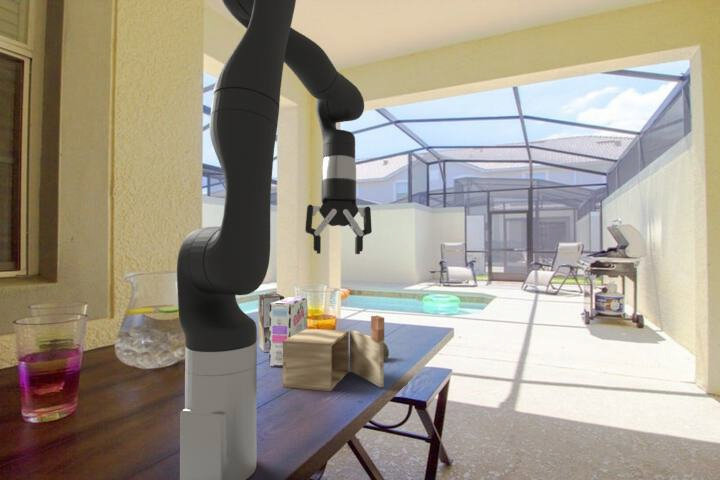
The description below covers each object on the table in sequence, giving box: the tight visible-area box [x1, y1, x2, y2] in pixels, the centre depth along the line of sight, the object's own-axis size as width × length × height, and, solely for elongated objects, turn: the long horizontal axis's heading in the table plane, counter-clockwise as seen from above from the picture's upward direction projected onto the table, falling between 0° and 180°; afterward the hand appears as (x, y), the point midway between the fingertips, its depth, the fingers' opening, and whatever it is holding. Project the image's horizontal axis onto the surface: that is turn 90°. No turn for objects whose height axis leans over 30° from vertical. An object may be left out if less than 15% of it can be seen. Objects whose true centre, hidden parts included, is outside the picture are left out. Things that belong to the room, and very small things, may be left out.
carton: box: [282, 328, 350, 392], centre depth 94 cm, size 14×11×10 cm
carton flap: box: [349, 315, 385, 388], centre depth 93 cm, size 14×2×15 cm, turn 29°
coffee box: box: [257, 293, 285, 353], centre depth 123 cm, size 9×6×16 cm
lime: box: [383, 341, 390, 362], centre depth 110 cm, size 4×5×5 cm
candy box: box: [268, 296, 308, 368], centre depth 110 cm, size 14×6×16 cm, turn 168°
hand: (338, 253), depth 88 cm, fingers open, 8 cm apart
